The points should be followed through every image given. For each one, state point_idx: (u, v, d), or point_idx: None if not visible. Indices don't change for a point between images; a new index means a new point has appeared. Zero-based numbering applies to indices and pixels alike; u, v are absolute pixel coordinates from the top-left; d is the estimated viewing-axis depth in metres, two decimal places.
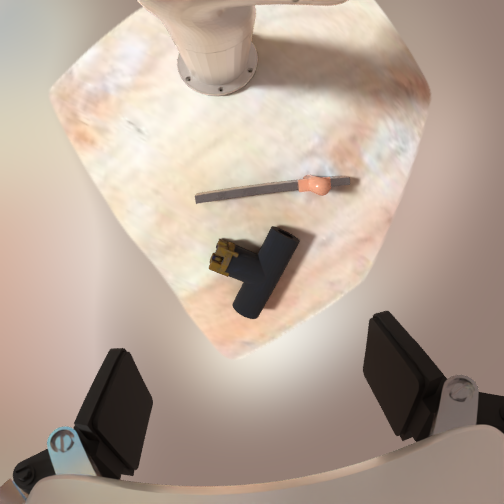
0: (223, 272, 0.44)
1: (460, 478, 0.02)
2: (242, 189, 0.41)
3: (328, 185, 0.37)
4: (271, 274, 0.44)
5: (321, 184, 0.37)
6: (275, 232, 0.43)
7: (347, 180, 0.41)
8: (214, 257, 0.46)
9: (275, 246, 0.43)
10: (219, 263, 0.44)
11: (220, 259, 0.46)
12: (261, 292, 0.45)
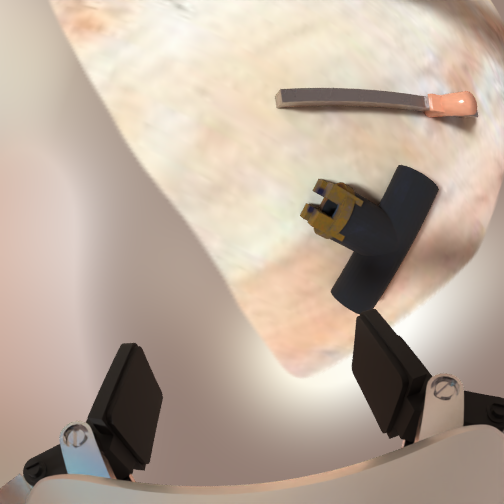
0: (336, 233, 0.23)
1: (460, 478, 0.02)
2: (358, 90, 0.20)
3: (475, 103, 0.17)
4: (406, 240, 0.24)
5: (469, 99, 0.17)
6: (412, 171, 0.23)
7: None
8: (312, 209, 0.25)
9: (415, 192, 0.23)
10: (329, 217, 0.23)
11: None
12: (388, 270, 0.25)
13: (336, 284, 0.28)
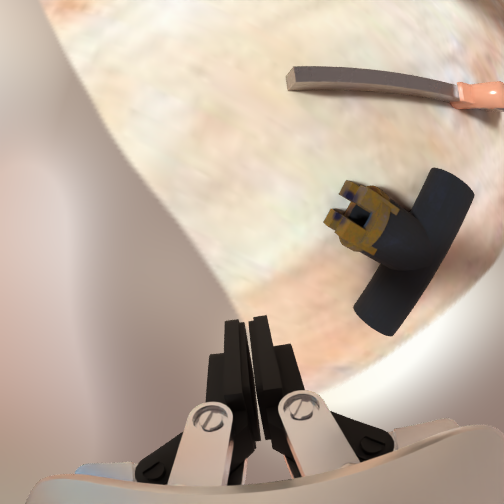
0: (368, 246, 0.19)
1: (460, 478, 0.02)
2: (384, 72, 0.16)
3: None
4: (441, 253, 0.20)
5: (502, 90, 0.12)
6: (450, 175, 0.18)
7: None
8: (339, 216, 0.21)
9: (452, 200, 0.18)
10: (360, 226, 0.19)
11: None
12: (420, 287, 0.21)
13: (360, 301, 0.24)
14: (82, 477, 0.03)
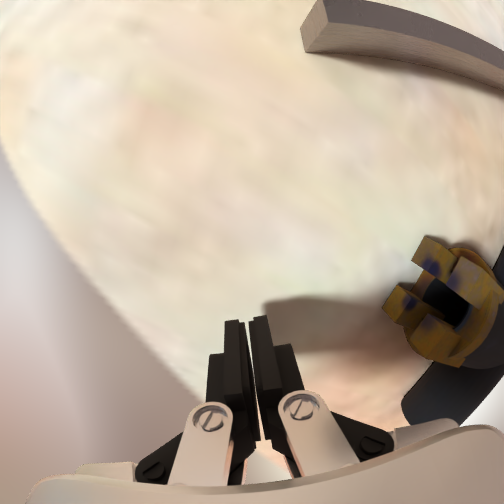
0: (457, 359, 0.09)
1: (460, 478, 0.02)
2: (473, 38, 0.06)
3: None
4: None
5: None
6: None
7: None
8: (413, 304, 0.11)
9: None
10: (452, 330, 0.09)
11: (425, 308, 0.11)
12: (495, 384, 0.10)
13: (414, 403, 0.14)
14: (82, 477, 0.03)
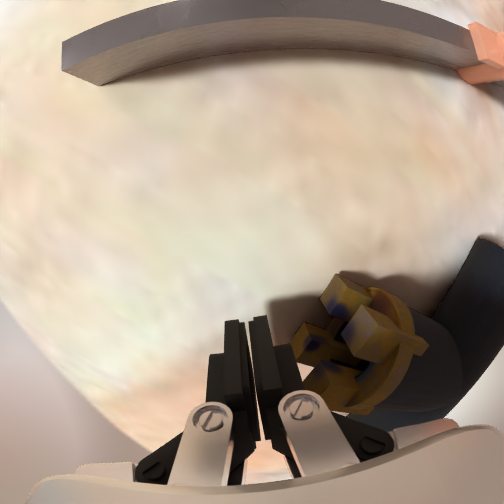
0: (359, 408, 0.09)
1: (460, 478, 0.02)
2: None
3: None
4: (474, 382, 0.10)
5: None
6: None
7: None
8: (315, 345, 0.11)
9: None
10: (350, 380, 0.09)
11: (334, 349, 0.12)
12: None
13: None
14: (82, 477, 0.03)
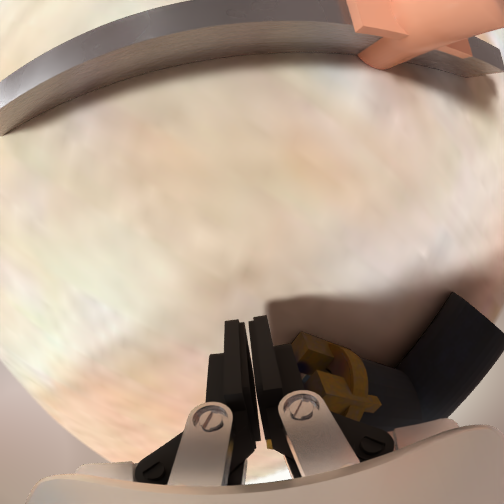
0: None
1: (460, 478, 0.02)
2: (83, 37, 0.05)
3: None
4: None
5: None
6: (485, 322, 0.10)
7: (497, 56, 0.06)
8: None
9: (476, 363, 0.09)
10: None
11: None
12: None
13: None
14: (82, 477, 0.03)
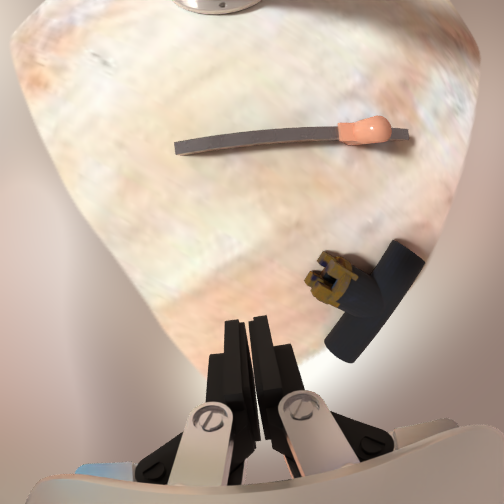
0: (333, 302, 0.28)
1: (460, 478, 0.02)
2: (251, 132, 0.24)
3: (389, 127, 0.21)
4: (391, 306, 0.29)
5: (379, 124, 0.20)
6: (404, 248, 0.28)
7: (405, 133, 0.25)
8: (315, 278, 0.30)
9: (403, 268, 0.28)
10: (328, 288, 0.28)
11: (322, 281, 0.30)
12: (373, 329, 0.29)
13: (329, 336, 0.33)
14: (82, 477, 0.03)
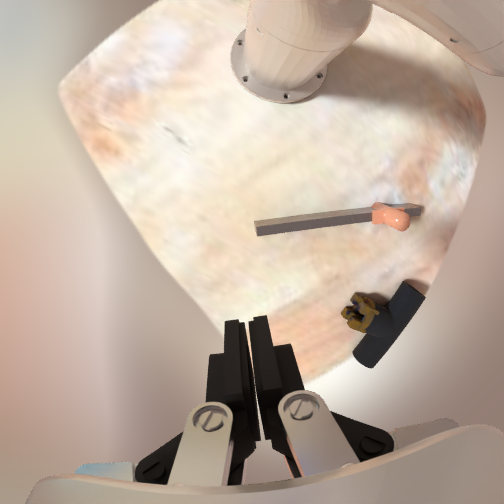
0: (362, 329, 0.39)
1: (460, 478, 0.02)
2: (312, 220, 0.34)
3: (409, 220, 0.31)
4: (401, 329, 0.40)
5: (402, 219, 0.31)
6: (411, 290, 0.38)
7: (418, 210, 0.35)
8: (349, 312, 0.41)
9: (410, 303, 0.38)
10: (359, 321, 0.39)
11: (354, 314, 0.41)
12: (388, 345, 0.40)
13: (356, 349, 0.44)
14: (82, 477, 0.03)
